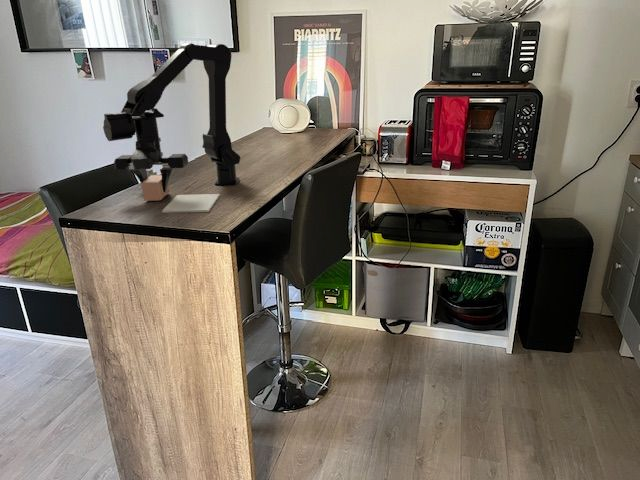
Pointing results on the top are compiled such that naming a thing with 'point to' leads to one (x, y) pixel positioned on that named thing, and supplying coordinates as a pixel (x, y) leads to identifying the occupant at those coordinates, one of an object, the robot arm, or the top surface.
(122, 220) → the top surface
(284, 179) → the top surface
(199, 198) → the mat
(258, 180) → the top surface
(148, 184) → the tan rectangular block
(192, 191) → the top surface
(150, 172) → the grey jagged block
